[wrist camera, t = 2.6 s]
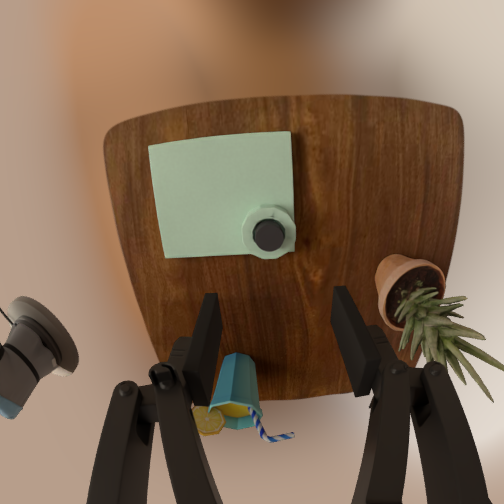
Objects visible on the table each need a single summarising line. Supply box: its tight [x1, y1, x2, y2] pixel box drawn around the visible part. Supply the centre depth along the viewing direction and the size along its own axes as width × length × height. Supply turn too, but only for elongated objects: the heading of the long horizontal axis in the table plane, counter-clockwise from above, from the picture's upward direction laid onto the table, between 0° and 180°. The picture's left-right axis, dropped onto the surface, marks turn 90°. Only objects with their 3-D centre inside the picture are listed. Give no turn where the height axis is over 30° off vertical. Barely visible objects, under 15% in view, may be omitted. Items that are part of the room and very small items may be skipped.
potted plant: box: [375, 254, 504, 402], centre depth 23 cm, size 10×10×25 cm
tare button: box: [255, 220, 284, 252], centre depth 29 cm, size 3×3×2 cm
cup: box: [192, 352, 295, 443], centre depth 35 cm, size 14×8×15 cm, turn 95°
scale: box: [148, 131, 296, 259], centre depth 30 cm, size 16×14×3 cm
